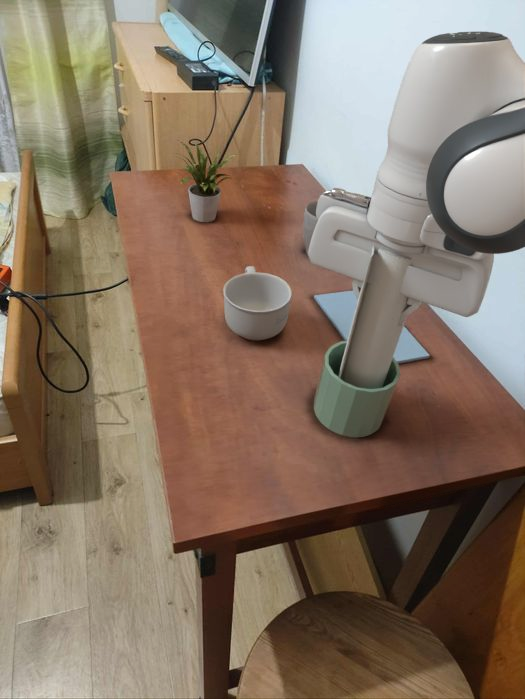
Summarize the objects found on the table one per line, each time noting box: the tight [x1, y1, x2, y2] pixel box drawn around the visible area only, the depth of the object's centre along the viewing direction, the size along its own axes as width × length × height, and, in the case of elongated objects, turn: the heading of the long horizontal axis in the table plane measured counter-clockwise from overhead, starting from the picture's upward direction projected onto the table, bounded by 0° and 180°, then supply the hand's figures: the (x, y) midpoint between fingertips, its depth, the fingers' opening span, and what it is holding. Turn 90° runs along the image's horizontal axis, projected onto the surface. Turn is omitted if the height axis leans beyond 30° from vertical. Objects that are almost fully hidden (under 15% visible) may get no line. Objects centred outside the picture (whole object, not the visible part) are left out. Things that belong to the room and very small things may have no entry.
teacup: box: [222, 265, 293, 341], centre depth 84 cm, size 14×11×8 cm
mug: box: [302, 200, 318, 255], centre depth 103 cm, size 12×9×10 cm
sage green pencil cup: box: [313, 340, 401, 438], centre depth 70 cm, size 10×10×9 cm
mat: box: [313, 289, 431, 365], centre depth 89 cm, size 20×12×1 cm, turn 20°
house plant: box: [171, 139, 239, 223], centre depth 109 cm, size 14×14×16 cm
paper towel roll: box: [338, 247, 412, 389], centre depth 63 cm, size 7×6×21 cm
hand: (379, 316), depth 62 cm, fingers closed on paper towel roll, 3 cm apart
